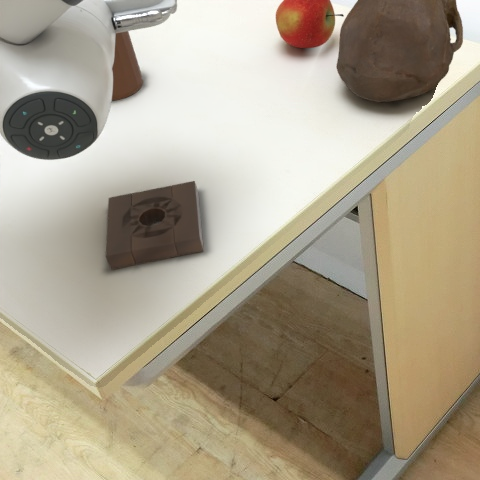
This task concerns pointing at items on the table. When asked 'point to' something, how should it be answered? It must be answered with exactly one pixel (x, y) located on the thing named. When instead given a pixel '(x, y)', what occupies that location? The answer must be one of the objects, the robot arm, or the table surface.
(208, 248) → the table surface
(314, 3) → the apple
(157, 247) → the dark brown square mat
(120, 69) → the bottle
